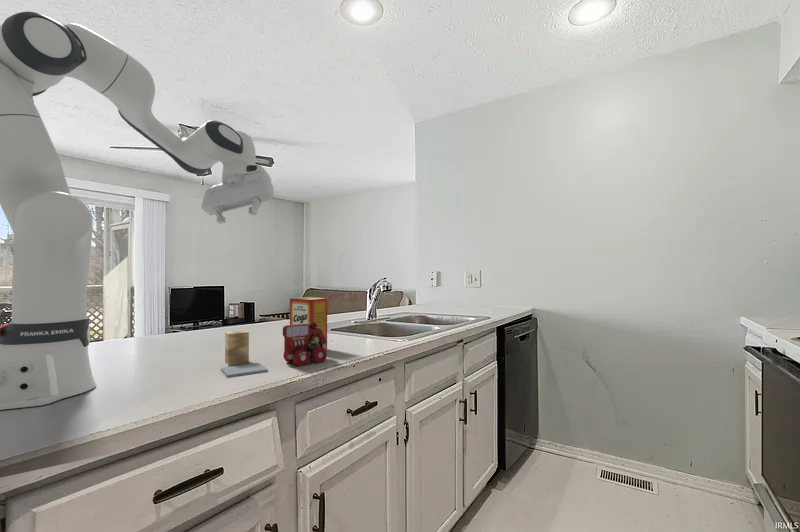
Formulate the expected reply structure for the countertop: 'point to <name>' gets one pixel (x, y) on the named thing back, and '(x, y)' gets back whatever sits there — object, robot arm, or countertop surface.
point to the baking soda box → (309, 312)
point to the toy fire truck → (304, 344)
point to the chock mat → (243, 369)
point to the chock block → (236, 347)
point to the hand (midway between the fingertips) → (236, 218)
